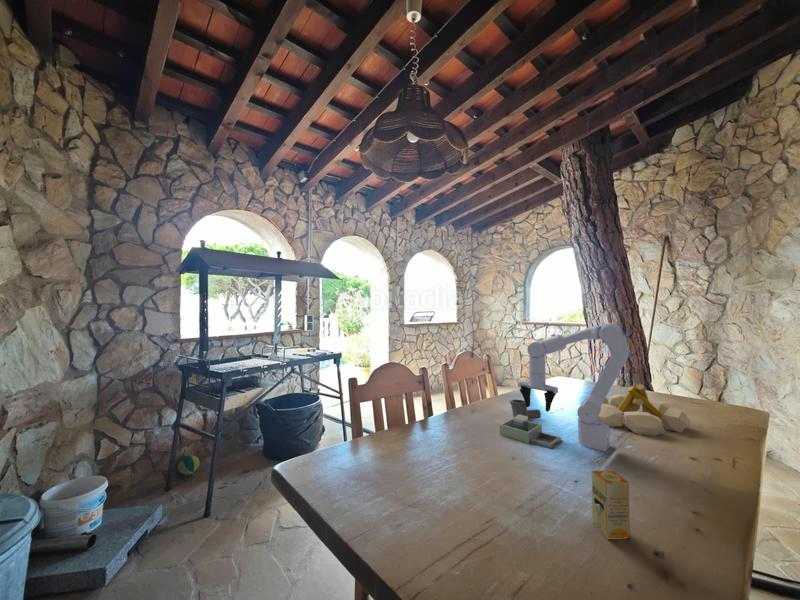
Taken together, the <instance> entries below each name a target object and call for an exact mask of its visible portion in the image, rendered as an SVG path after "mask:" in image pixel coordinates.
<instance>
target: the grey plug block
mask: <svg viewBox="0 0 800 600" xmlns="http://www.w3.org/2000/svg"><path fill="white" fill-rule="evenodd" d="M512 418H513V425H514V428H516V429H519V430H523V431H527V432H528V421H529V418H528V416H524V415H517V416H515V417H512Z"/></svg>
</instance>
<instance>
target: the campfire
mask: <svg viewBox="0 0 800 600" xmlns="http://www.w3.org/2000/svg"><path fill="white" fill-rule="evenodd" d="M608 400H609V401H608ZM641 407H642V410H641V411H639V410H640V409H641ZM598 417H599V418H600V420H601V423H603V424H605V425H608V426H609V427H611V428H612V427H613V428H614V427H615V428H616V427H622V426H623V417H624V423H625V425H624V426H625V427H626V428H628V429H629V430H631V431H632V432H633V433H635V434H636V435H645V436H646V435H647V436H652V437H656V436H659V435H661V434H664V433H665V430H668V431H672V432H676V433H683V431H684V430H685V429H686V428H687V427H688V426H689V425H690V423H691V420H690V418H688V416H687V414H686V413H685V412H684V411H683V410H679V409H674V408H671V406H670V405H669V402H666V401H661V400H658V399H649V397H648V394H647V390H646V388H645V385H643V384H642V383H637V382H634V383H633V385H632V386H629V387H628V388H627V393H626V394H621V393H618V394H614V395H611V396H609V399H608V397H605V399H604V401H603V403H602V405H601V412H600V414H599V416H598Z"/></svg>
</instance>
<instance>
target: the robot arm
mask: <svg viewBox="0 0 800 600" xmlns="http://www.w3.org/2000/svg"><path fill="white" fill-rule="evenodd" d="M587 339H591V340H596V341H599V340H601V341H602V342H603V343H604V344H605V345H606V346H607V348H608V350H609V352H610V357H609V359H608V361H607V363H606V364H605V366H604V368H603V369H602V372H601V373H600V375H599V377H598V379H597V381H596V383H595V384H594V386H593V388H592V390H591V392H590V394H589V395H588V397H587V398H586V399H584V400H582V402H581V403H580V406H579V407H578V408H577V440H578V441H577V442H578V444H579V445H580V446H582V447H585V448H590V449H595V450H598V451H603V452H606V451H607V450H609V448H611V429H610V426H608V425H605V424H603V423H601V420H600V418H599V417H598V416H599V414H600V412H601V405H602V403H603V401H604V399H605V398H607V395H608V394H609V392H610V390H611V389H612V387H613V385H614V383H615V382H616V379H617V378H618V376H619V374H620V372H621V370H622V368H624V365H625V363H626V362H627V360H628V359H629V356H630V350H629V347H628V341H627V337H626V334H625V332H624V330H623V329H622V327H621V326H620V325H619V324H616V323H613V322H611V323H607V324H604V325H603V324H601V325H600V324H599V325H596V326H590V327H587V328H584V329H581V330H579V331H578V330H577V331H575V332H573V333H569V334H567V335H561V334H555V333H553V334H551V335H550V336H549V337H547V338H546V337H545V338H539V339H538V340H537V341H533V342H532V343H530V344H528V346H527V353H528V356H529V358H528V359H529V361H528V366H529V367H528V370H529V372H528V373H529V374H528V375H529V376H528V377H529V379H528V380H529V381H523V380H520V381H518V387H519V392H520V393H521V395H522V397H523V401H525V404H526V407H527V408H529V407H530V406H531V392H532V389H533V390H537V391H544V393H543V395H544V400H545V412H550V411H551V406H552V403H553V401H554V399H555V397H556V394H558V393H559V387H557V386H553V385H550V384H549V385H548V384H546V356H545V355H549V354H553V353H556V352H559V351H563V350H565V349H566V347H567V345H569V344H574V343H576V342H577V343H578V342H581V341H584V340H587Z"/></svg>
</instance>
